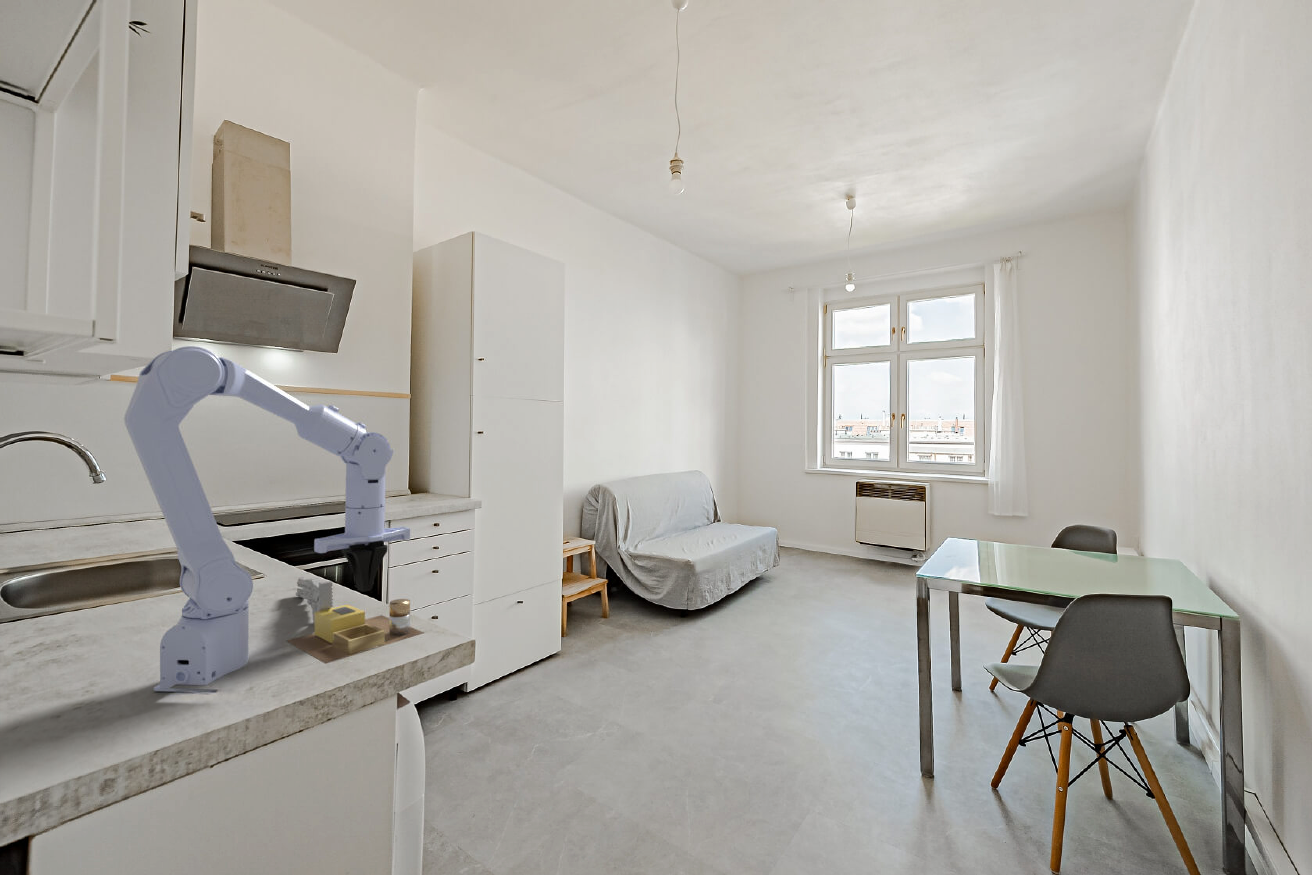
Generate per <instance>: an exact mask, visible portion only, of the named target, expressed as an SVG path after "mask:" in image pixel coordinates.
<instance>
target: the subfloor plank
mask: <svg viewBox="0 0 1312 875" xmlns="http://www.w3.org/2000/svg"><path fill="white" fill-rule="evenodd" d="M421 634H422V635H423V634H425V632H424V631H422V630H420V629H416V628H415V627H412V626H410V633H408V634H406V635H403V636H391V635H389V617H388V616H385V615H382V614H381V615H377V616H373V617H370V618H365V624H363V625H359V626H356V627H352V628H348V629H345V630H341V631H337V632H334V633H332V643H330V642H328V641H326V640H324V639H322V638H320V637H319V636H317V635H315V632H313V633H310V634H305V635H302V636H298V637H294V638H290V639H287V640H285V642H287V643H288V644H290V645H292V646H294V647H296V648H297V649H299V650H301V651H303V652H304V653H306V654H308V655H310V656H311V657H313V658H315V659H317V660H319V661H320V662H322V663H324V664H329V663H333V662H335V661H338V660H341V659H345V658H348V657H352V656H355V655H358V654H361V653H364V652H367V651H371V650H374V649H378V648H380V647H383V646H386V645H390V644H394V643H396V642H399V641H402V640H406V639H410V638H412V637H415V636H419V635H421Z"/></svg>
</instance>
